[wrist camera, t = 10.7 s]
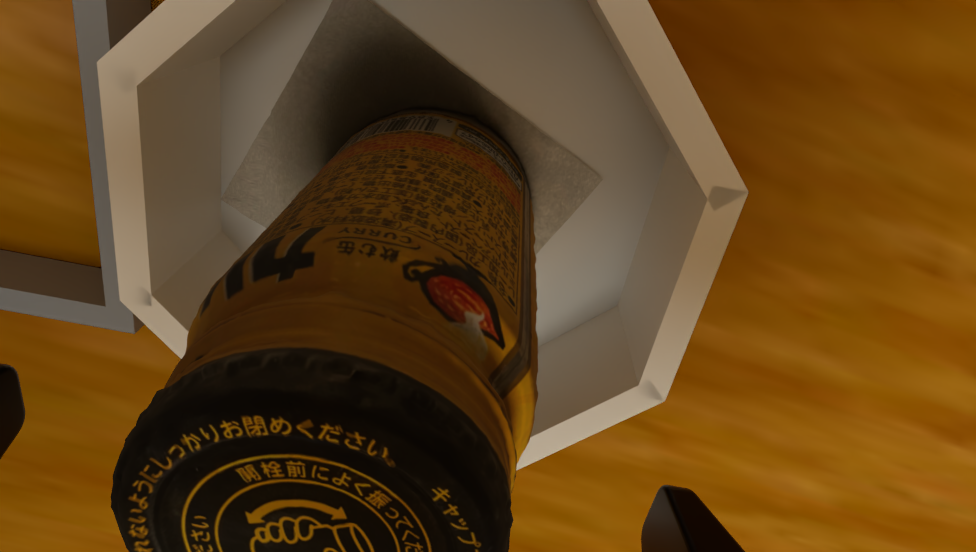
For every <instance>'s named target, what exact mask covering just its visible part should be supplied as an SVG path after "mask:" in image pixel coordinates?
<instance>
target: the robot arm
mask: <svg viewBox="0 0 976 552" xmlns="http://www.w3.org/2000/svg"><path fill="white" fill-rule="evenodd" d="M24 419H25V408H24V403H23V398H22V393H21V387H20V382H19V377H18V374H17V371H16V370H15V369H14V368H13V367H11V366H10V365H6V364H0V459H1V457H2V456H3V454H4V453H5V451H6V450H7V449H8V447H9V446H10V444H11V443H12V441H13V440H14V438H15V437H16V435H17V434H18V433H19V431H20V429H21V427H22V425H23V422H24ZM641 544H642V552H745V551H744V550H743V549H742V548H741V546H740V545H739V544H738V543H737V542H736V541H735V539H734V538H733V537H732V536H731V535H730V534H729V532H728V531H727V530H726V529H725V528H724V527H723V525H722V524H721V523H720V522H719V521H718V520H717V518H716V517H715V516H714V515H713V514H712V513H711V511H710V510H709V509H708V508H707V507H706V506H705V504H704V503H703V502H702V501H701V500H700V499H699V497H698V496H697V495H696V494H695V493H694V492H693V491H692V490H690V489H687V488H682V487H676V486H671V485H663V486H662V487H661V488H660V489H659V490H658V492H657V494H656V497H655V499H654V501H653V503H652V506H651V508H650V510H649V513H648V515H647V517H646V520H645V522H644V525H643V529H642V537H641Z"/></svg>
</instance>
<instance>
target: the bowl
mask: <svg viewBox="0 0 976 552" xmlns="http://www.w3.org/2000/svg"><path fill="white" fill-rule="evenodd" d="M332 1H333V0H165V1H164V2H162V3H161V4H160V5H159V6H158V7H157V8H156V9H155V10H154V11H153V12H151V13H150V14H149V15H148V16H147V17H146V18H145V19H144V20H143V21H142V22H140V23H139V24H138V25H137V26H136V27H135V28H134V29H133V30H132V31H131V32H129V33H128V34H127V35H126V36H125V37H124V38H123V39H122V40H121V41H119V42H118V43H117V44H116V45H115V46H114V47H113V48H112V49H111V50H110V51H108V52H107V53H106V54H105V55H104V56H103V57H102V58H101V59H100V60H99V61H97V70H98V81H99V91H100V101H101V112H102V122H103V132H104V142H105V153H106V163H107V173H108V184H109V194H110V204H111V215H112V225H113V235H114V246H115V256H116V266H117V277H118V287H119V297H120V301H121V302H122V303H123V304H124V305H125V306H126V307H127V308H128V309H129V310H130V311H131V312H132V313H133V314H135V315H136V316H137V317H138V318H139V319H140V320H141V321H142V322H143V323H144V324H145V325H146V326H147V327H148V328H149V329H150V330H151V331H152V332H153V333H154V334H156V335H157V336H158V337H159V338H160V339H161V340H162V341H163V342H164V343H165V344H166V345H167V346H168V347H169V348H170V349H171V350H172V351H173V352H174V353H175V354H176V355H178V356H179V357H180V358H181V359H182V358H183V356H184V355H185V352H186V348H187V336H188V332H189V329H190V327H191V324H192V322H193V320H194V318H195V317H196V315H197V313H198V310H199V307H200V305H201V303H202V302H203V300H204V299H205V298H206V296H207V295H208V293H209V291H210V289H211V287H212V286H213V285H214V284H215V282H216V281H217V280H218V279H220V278H221V277H222V276H223V275H224V274H225V273H226V272H227V271H228V269H229V268H230V267H231V266H232V265H233V263H234V262H235V261H236V260H237V259H239V258H240V257H241V256H242V254H243V253H244V252H245V251H246V250H247V249H248V248H249V247H250V246H251V245H252V244H253V243H254V242H255V241H256V239H257V238H258V237H259V236H260V235H261V233H262V232H263V231H265V230H266V228H265V227H264V226H262V225H260V224H258V223H257V222H255V221H253V220H251V219H249V218H248V217H246V216H245V215H243V214H242V213H240V212H239V211H238V210H236V209H235V208H233V207H232V206H230V205H229V204H227V203H225V202H224V201H222V200H221V198H222V196H223V194H224V193H225V191H226V189H227V187H228V185H229V184H230V182H231V180H232V178H233V177H234V175H235V173H236V172H237V170H238V169H239V167H240V165H241V164H242V162H243V160H244V158H245V156H246V154H247V153H248V151H249V149H250V147H251V145H252V143H253V142H254V140H255V139H256V137H257V135H258V133H259V131H260V130H261V128H262V127H263V125H264V123H265V122H266V120H267V118H268V117H269V116H270V115H271V111H272V109H273V107H274V105H275V103H276V102H277V100H278V98H279V96H280V95H281V93H282V91H283V90H284V88H285V86H286V84H287V83H288V81H289V79H290V78H291V76H292V74H293V72H294V70H295V68H296V66H297V64H298V63H299V61H300V59H301V58H302V56H303V54H304V52H305V50H306V48H307V47H308V45H309V43H310V41H311V40H312V38H313V36H314V34H315V32H316V30H317V29H318V27H319V25H320V23H321V22H322V20H323V18H324V16H325V14H326V12H327V11H328V9H329V6H330V4H331V2H332ZM369 1H370V2H371V3H372V4H374V5H375V6H376V7H377V8H379V9H380V10H381V11H383V12H384V13H385V14H387V15H388V16H390V17H391V18H393V19H394V20H395V21H397V22H398V23H399V24H401V25H402V26H403V27H405V28H406V29H408V30H409V31H411V32H412V33H413V34H414V35H415V36H417V37H418V38H419V39H421V40H422V41H423V42H424V43H426V44H427V45H428V46H430V47H431V48H432V49H433V50H435V51H436V52H437V53H439V54H440V55H441V56H443V57H444V58H445V59H446V60H447V61H448V62H449V63H451V64H452V65H453V66H455V67H456V68H458V69H459V70H460V71H462V72H463V73H464V74H466V75H467V76H469V77H470V78H472V79H473V80H474V81H476V82H477V83H479V84H480V85H481V86H482V87H483V88H485V89H486V90H487V91H489V92H490V93H492V94H493V95H494V96H496V97H497V98H498V99H500V100H501V101H502V102H503V103H505V104H506V105H507V106H508V107H510V108H511V109H513V110H514V111H516V112H517V113H518V114H519V115H521V116H522V117H523V118H525V119H526V120H527V121H529V122H530V123H531V124H532V125H534V126H535V127H536V128H537V129H538V130H539V131H541V132H542V133H543V134H545V135H547V136H548V137H549V138H551V139H552V140H553V141H554V142H556V143H557V144H558V145H560V146H561V147H562V148H563V149H565V150H566V151H567V152H568V153H570V154H571V155H572V156H574V157H575V158H576V159H578V160H579V161H580V162H581V163H583V164H584V165H585V166H586V167H588V168H589V169H590V170H592V171H593V172H594V173H596V174H597V175H598V176H599V177H601V178H602V179H603V180H602V181H601V182H600V183H599V185H598V186H597V187H596V188H595V189H594V190H593V192H592V193H591V194H590V195H589V196H588V197H587V199H586V200H585V201H584V202H583V203H582V204H581V205H580V206H579V208H578V209H577V210H576V211H575V212H574V213H573V214H572V216H571V217H570V218H569V219H568V220H567V221H566V222H565V223H564V224H563V225H562V227H561V228H560V229H559V230H558V231H557V232H556V233H555V234H554V235H553V236H552V237H551V238H550V239H549V240H548V242H547V243H546V244H545V245H544V246H543V247H542V248H541V250H540V251H539V252H538V253H537V254H536V263H535V269H536V289H537V299H536V301H537V308H538V309H537V312H536V333H537V337H538V373H537V380H536V384H537V390H538V399H537V402H536V407H535V418H534V424H533V429H532V433H531V436H530V440H529V443H528V445H527V446H526V448H525V450H524V452H523V453H522V455H521V457H520V459H519V461H518V463H517V467H516V470H518V469H521V468H523V467H525V466H527V465H529V464H531V463H533V462H536V461H538V460H540V459H542V458H544V457H546V456H548V455H551V454H553V453H555V452H557V451H559V450H561V449H563V448H566V447H568V446H570V445H572V444H574V443H576V442H578V441H581V440H583V439H585V438H587V437H589V436H591V435H593V434H596V433H598V432H600V431H602V430H604V429H606V428H608V427H611V426H613V425H615V424H617V423H619V422H621V421H623V420H626V419H628V418H630V417H632V416H634V415H636V414H638V413H641V412H643V411H645V410H647V409H649V408H651V407H653V406H656V405H658V404H660V403H662V402H664V401H665V399H666V397H667V394H668V392H669V389H670V387H671V384H672V382H673V379H674V377H675V375H676V372H677V370H678V367H679V365H680V362H681V360H682V357H683V355H684V352H685V350H686V347H687V345H688V342H689V340H690V337H691V335H692V332H693V330H694V327H695V325H696V322H697V320H698V317H699V315H700V312H701V310H702V307H703V305H704V302H705V300H706V297H707V295H708V292H709V290H710V287H711V285H712V282H713V280H714V277H715V275H716V272H717V270H718V268H719V265H720V263H721V260H722V258H723V255H724V253H725V250H726V248H727V245H728V243H729V240H730V238H731V235H732V233H733V230H734V228H735V225H736V223H737V220H738V218H739V215H740V213H741V210H742V208H743V205H744V203H745V200H746V198H747V195H748V193H749V192H748V190H747V188H746V186H745V184H744V182H743V180H742V179H741V177H740V175H739V173H738V171H737V169H736V167H735V165H734V163H733V161H732V160H731V158H730V156H729V154H728V152H727V150H726V148H725V146H724V144H723V142H722V141H721V139H720V137H719V135H718V133H717V131H716V129H715V127H714V125H713V124H712V122H711V120H710V118H709V116H708V114H707V112H706V110H705V108H704V106H703V105H702V103H701V101H700V99H699V97H698V95H697V93H696V91H695V89H694V87H693V86H692V84H691V82H690V80H689V78H688V76H687V74H686V72H685V70H684V68H683V67H682V65H681V63H680V61H679V59H678V57H677V55H676V53H675V51H674V49H673V48H672V46H671V44H670V42H669V40H668V38H667V36H666V34H665V32H664V31H663V29H662V27H661V25H660V23H659V21H658V19H657V17H656V15H655V13H654V12H653V10H652V8H651V6H650V4H649V2H648V0H369Z"/></svg>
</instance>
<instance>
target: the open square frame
mask: <svg viewBox="0 0 976 552" xmlns="http://www.w3.org/2000/svg"><path fill="white" fill-rule="evenodd" d="M72 2H73V11H74V21H75V30H76V39H77V48H78V57H79V66H80V75H81V85H82V94H83V103H84V112H85V121H86V130H87V139H88V149H89V158H90V167H91V176H92V185H93V194H94V203H95V213H96V222H97V231H98V240H99V249H100V258H101V267H102V268H96V267H91V266H86V265H80V264H75V263H69V262H64V261H59V260H53V259H48V258H43V257H37V256H32V255H27V254H21V253H16V252H11V251H5V250H0V309H2V310H7V311H13V312H18V313H24V314H29V315H35V316H40V317H46V318H51V319H56V320H62V321H67V322H73V323H78V324H84V325H89V326H95V327H100V328H106V329H111V330H117V331H122V332H128V333H133V334H135V333H136V332H137V331H138V330H139V329H140V328H141V327H142V326H143V325H144V323H143V322H142V321H141V320H140V319H139V318H138V317H137V316H136V315H135V314H133V313H132V312H131V311H130V310H129V309H128V308H127V307H126V306H125V305H124V304H123V303H122V302H121V301H120V297H119V287H118V277H117V266H116V256H115V246H114V235H113V225H112V215H111V204H110V194H109V184H108V173H107V163H106V153H105V142H104V132H103V122H102V112H101V101H100V91H99V81H98V70H97V61H99V60H100V59H101V58H102V57H103V56H104V55H105V54H106V53H107V52H108V51H110V50H111V49H112V48H113V47H114V46H115V45H116V44H117V43H118V42H119V41H121V40H122V39H123V38H124V37H125V36H126V35H127V34H128V33H129V32H131V31H132V30H133V29H134V28H135V27H136V26H137V25H138V24H139V23H140V22H142V21H143V20H144V19H145V18H146V17H147V16H148V15H149V14H150V13H151V0H72Z"/></svg>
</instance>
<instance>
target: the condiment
mask: <svg viewBox="0 0 976 552" xmlns="http://www.w3.org/2000/svg"><path fill="white" fill-rule="evenodd" d="M602 180H603V179H602V178H601V177H599V176H598V175H597V174H596V173H594V172H593V171H592V170H590V169H589V168H588V167H586V166H585V165H584V164H583V163H581V162H580V161H579V160H578V159H576V158H575V157H574V156H572V155H571V154H570V153H568V152H567V151H566V150H565V149H563V148H562V147H561V146H560V145H558V144H557V143H556V142H554V141H553V140H552V139H551V138H549V137H548V136H547V135H545V134H543V133H542V132H541V131H539V130H538V129H537V128H536V127H535V126H534V125H532V124H531V123H530V122H529V121H527V120H526V119H525V118H523V117H522V116H521V115H519V114H518V113H517V112H516V111H514V110H513V109H511V108H510V107H508V106H507V105H506V104H505V103H503V102H502V101H501V100H500V99H498V98H497V97H496V96H494V95H493V94H492V93H490V92H489V91H487V90H486V89H485V88H483V87H482V86H481V85H480V84H479V83H477V82H476V81H474V80H473V79H472V78H470V77H469V76H467V75H466V74H464V73H463V72H462V71H460V70H459V69H458V68H456V67H455V66H453V65H452V64H451V63H449V62H448V61H447V60H446V59H445V58H444V57H443V56H441V55H440V54H439V53H437V52H436V51H435V50H433V49H432V48H431V47H430V46H428V45H427V44H426V43H424V42H423V41H422V40H421V39H419V38H418V37H417V36H415V35H414V34H413V33H412V32H411V31H409V30H408V29H406V28H405V27H403V26H402V25H401V24H399V23H398V22H397V21H395V20H394V19H393V18H391V17H390V16H388V15H387V14H385V13H384V12H383V11H381V10H380V9H379V8H377V7H376V6H375V5H374V4H372V3H371V2H370V1H369V0H333V1H332V2H331V4H330V6H329V9H328V11H327V12H326V14H325V16H324V18H323V20H322V22H321V23H320V25H319V27H318V29H317V30H316V32H315V34H314V36H313V38H312V40H311V41H310V43H309V45H308V47H307V48H306V50H305V52H304V54H303V56H302V58H301V59H300V61H299V63H298V64H297V66H296V68H295V70H294V72H293V74H292V76H291V78H290V79H289V81H288V83H287V84H286V86H285V88H284V90H283V91H282V93H281V95H280V96H279V98H278V100H277V102H276V103H275V105H274V107H273V109H272V111H271V115H270V116H269V117H268V118H267V120H266V122H265V123H264V125H263V127H262V128H261V130H260V131H259V133H258V135H257V137H256V139H255V140H254V142H253V143H252V145H251V147H250V149H249V151H248V153H247V154H246V156H245V158H244V160H243V162H242V164H241V165H240V167H239V169H238V170H237V172H236V173H235V175H234V177H233V178H232V180H231V182H230V184H229V185H228V187H227V189H226V191H225V193H224V194H223V196H222V198H221V200H222V201H224V202H225V203H227V204H229V205H230V206H232V207H233V208H235V209H236V210H238V211H239V212H240V213H242V214H243V215H245V216H246V217H248V218H249V219H251V220H253V221H255V222H257V223H258V224H260V225H262V226H264V227H265V228H266V230H265V231H263V232H262V233H261V235H260V236H259V237H258V238H257V239H256V241H255V242H254V243H253V244H252V245H251V246H250V247H249V248H248V249H247V250H246V251H245V252H244V253H243V254H242V256H241V257H240V258H239V259H237V260H236V261H235V262H234V263H233V265H232V266H231V267H230V268H229V269H228V271H227V272H226V273H225V274H224V275H223V276H222V277H221V278H220V279H218V280H217V281H216V282H215V284H214V285H213V286H212V287H211V289H210V291H209V293H208V295H207V296H206V298H205V299H204V300H203V302H202V303H201V305H200V307H199V310H198V313H197V315H196V317H195V318H194V320H193V322H192V324H191V327H190V329H189V332H188V336H187V348H186V352H185V355H184V356H183V358H182V359H181V360H180V361H179V363H178V365H177V366H176V368H175V369H174V371H173V373H172V375H171V376H170V378H169V380H168V381H167V383H166V385H165V388H164V389H162V390H159V391H157V392H156V394H155V396H154V397H153V399H152V402H151V403H150V405H149V406H148V408H147V409H145V410H144V411H143V412H142V413H141V414H140V416H139V418H138V420H137V423H136V426H135V427H134V428H133V429H132V431H131V432H130V433H129V435H128V437H127V438H126V439H125V444H124V448H123V450H122V451H121V454H120V456H119V459H118V462H117V465H116V467H115V471H114V474H113V488H112V493H111V501H112V502H111V508H112V510H113V512H114V515H115V518H116V521H117V524H118V527H119V530H120V533H121V535H122V537H123V540H124V542H125V545H126V548H127V549H128V550H129V552H508V550H509V537H510V528H511V526H512V523H513V517H512V513H511V509H510V507H511V493H512V489H513V486H514V482H515V477H516V467H517V463H518V461H519V459H520V457H521V455H522V453H523V452H524V450H525V448H526V446H527V445H528V443H529V440H530V436H531V433H532V429H533V424H534V418H535V407H536V402H537V399H538V390H537V384H536V380H537V373H538V337H537V333H536V312H537V309H538V308H537V301H536V299H537V289H536V269H535V263H536V254H537V253H538V252H539V251H540V250H541V248H542V247H543V246H544V245H545V244H546V243H547V242H548V240H549V239H550V238H551V237H552V236H553V235H554V234H555V233H556V232H557V231H558V230H559V229H560V228H561V227H562V225H563V224H564V223H565V222H566V221H567V220H568V219H569V218H570V217H571V216H572V214H573V213H574V212H575V211H576V210H577V209H578V208H579V206H580V205H581V204H582V203H583V202H584V201H585V200H586V199H587V197H588V196H589V195H590V194H591V193H592V192H593V190H594V189H595V188H596V187H597V186H598V185H599V183H600V182H601V181H602Z"/></svg>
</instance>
